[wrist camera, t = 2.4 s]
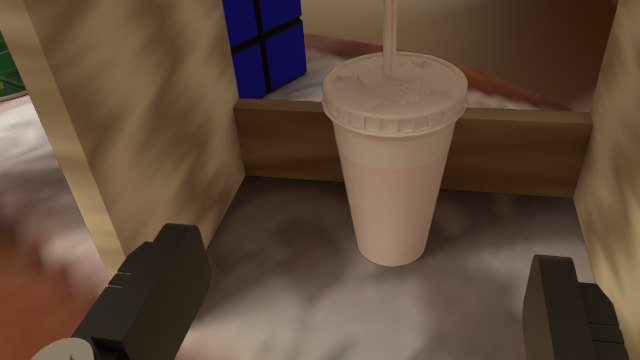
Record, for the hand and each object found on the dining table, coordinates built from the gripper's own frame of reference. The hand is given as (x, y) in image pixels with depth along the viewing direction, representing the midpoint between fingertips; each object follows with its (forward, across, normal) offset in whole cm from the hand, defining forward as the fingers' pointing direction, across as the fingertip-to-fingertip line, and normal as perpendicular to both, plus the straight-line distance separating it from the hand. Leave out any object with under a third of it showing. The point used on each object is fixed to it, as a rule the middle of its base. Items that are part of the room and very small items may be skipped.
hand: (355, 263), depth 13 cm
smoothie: (+12, 0, +11) cm, 17 cm away
